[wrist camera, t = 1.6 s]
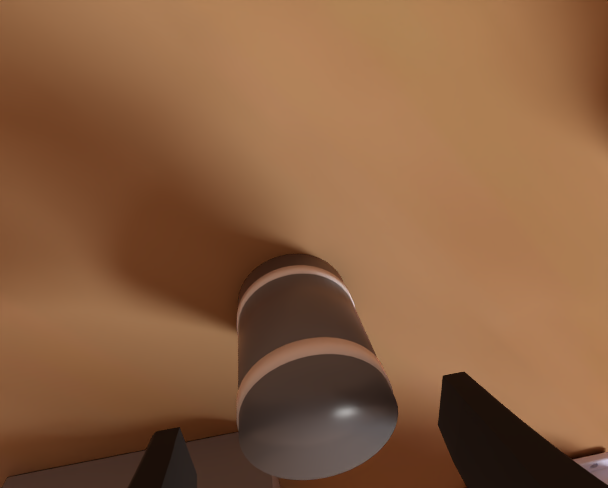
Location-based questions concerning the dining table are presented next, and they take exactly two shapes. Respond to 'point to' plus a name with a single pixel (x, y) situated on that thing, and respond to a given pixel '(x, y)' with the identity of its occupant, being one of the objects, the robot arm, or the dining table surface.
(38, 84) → the dining table surface
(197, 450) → the camera body
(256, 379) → the lens
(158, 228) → the dining table surface
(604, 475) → the robot arm
